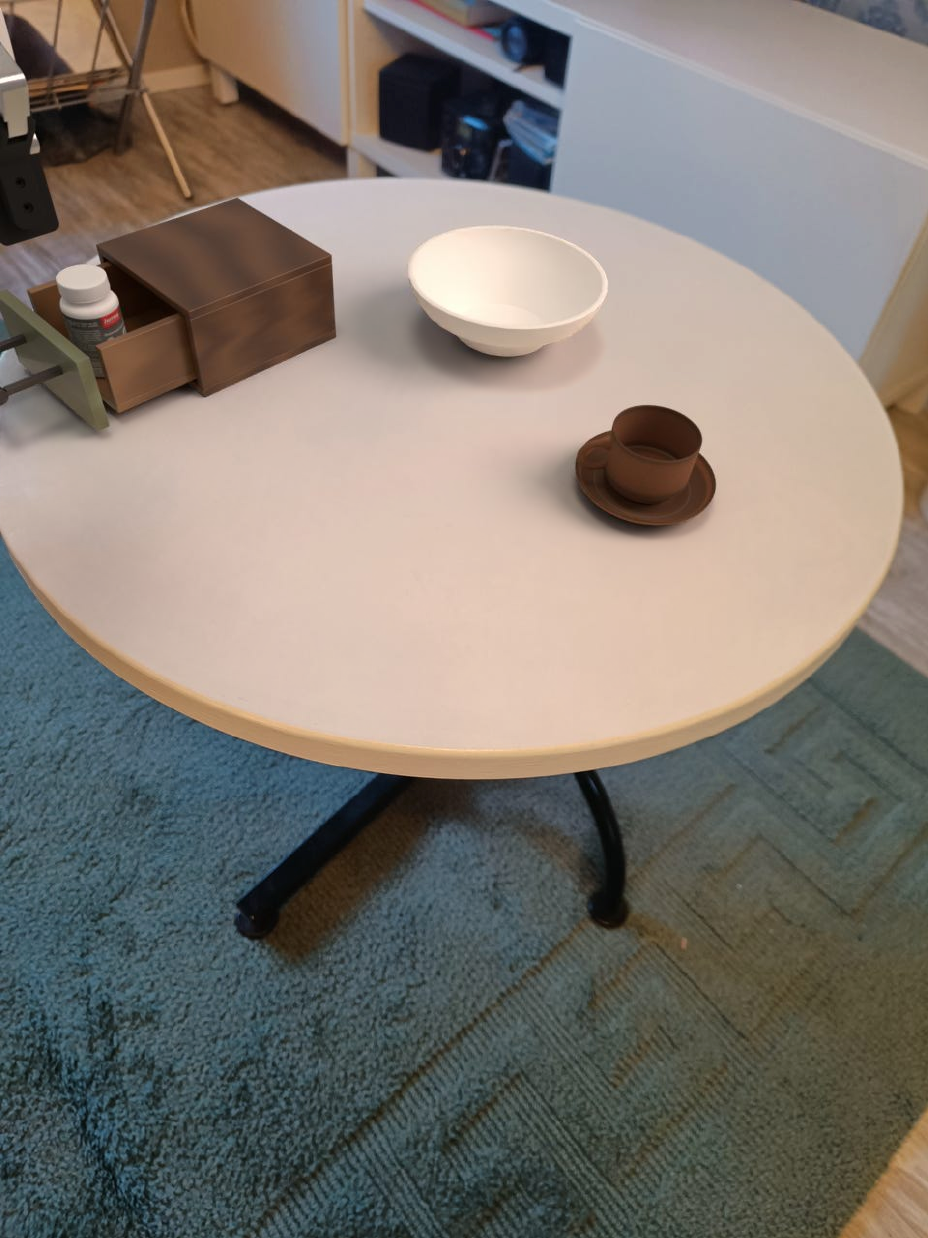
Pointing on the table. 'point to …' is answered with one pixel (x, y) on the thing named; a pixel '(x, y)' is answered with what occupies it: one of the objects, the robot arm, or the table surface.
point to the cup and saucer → (647, 467)
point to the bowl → (506, 287)
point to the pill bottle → (89, 310)
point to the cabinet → (233, 287)
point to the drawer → (99, 349)
